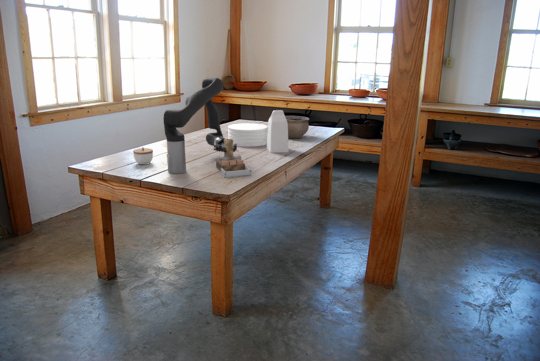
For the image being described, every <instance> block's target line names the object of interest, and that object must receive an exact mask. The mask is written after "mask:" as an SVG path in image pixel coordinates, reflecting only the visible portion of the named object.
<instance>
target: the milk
mask: <svg viewBox="0 0 540 361" xmlns="http://www.w3.org/2000/svg"><path fill="white" fill-rule="evenodd" d="M285 116H286V115H285V113H284V110H283V109H282V110H281V109H280V110H279V109H276V110H273V111H272V113H271V115H270V117H269V119H268V120H267V126H268V129H267V130H268V135H267V144H266V150H267V151H268V152H269V153H271V154H272V153H274V154H275V153H289V138H288V123H287V120H286V118H285Z"/></svg>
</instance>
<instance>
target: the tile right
mask: <svg viewBox="0 0 540 361" xmlns="http://www.w3.org/2000/svg"><path fill="white" fill-rule="evenodd" d="M235 160H236V164H243V163H244V159H242V158H241V159H235Z"/></svg>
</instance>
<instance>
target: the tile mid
mask: <svg viewBox="0 0 540 361" xmlns="http://www.w3.org/2000/svg"><path fill="white" fill-rule="evenodd" d="M228 161H229V165H236V160H228Z"/></svg>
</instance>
